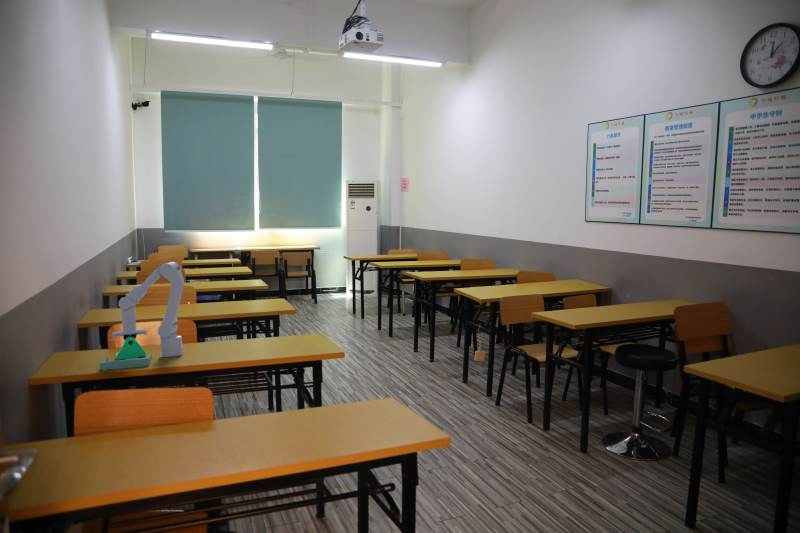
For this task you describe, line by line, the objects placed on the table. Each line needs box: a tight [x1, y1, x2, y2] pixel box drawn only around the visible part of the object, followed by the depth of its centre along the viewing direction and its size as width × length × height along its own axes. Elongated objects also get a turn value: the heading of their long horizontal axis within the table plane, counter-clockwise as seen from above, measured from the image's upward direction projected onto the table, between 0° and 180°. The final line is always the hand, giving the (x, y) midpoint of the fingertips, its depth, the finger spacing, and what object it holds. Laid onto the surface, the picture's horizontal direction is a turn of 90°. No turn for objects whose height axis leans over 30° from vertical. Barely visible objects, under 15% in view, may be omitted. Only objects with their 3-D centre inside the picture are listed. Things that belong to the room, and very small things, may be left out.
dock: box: [99, 352, 153, 371], centre depth 240 cm, size 19×13×4 cm
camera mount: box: [115, 337, 147, 361], centre depth 250 cm, size 12×8×10 cm, turn 121°
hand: (131, 350), depth 253 cm, fingers closed
